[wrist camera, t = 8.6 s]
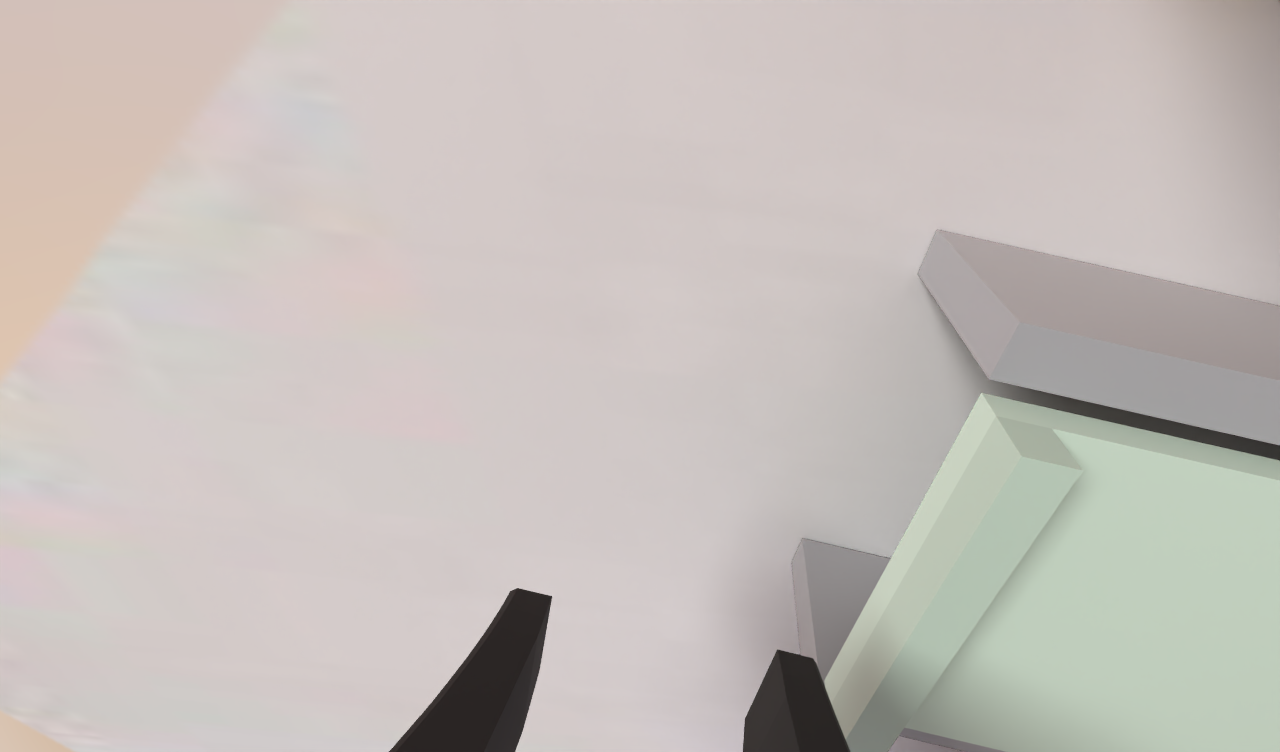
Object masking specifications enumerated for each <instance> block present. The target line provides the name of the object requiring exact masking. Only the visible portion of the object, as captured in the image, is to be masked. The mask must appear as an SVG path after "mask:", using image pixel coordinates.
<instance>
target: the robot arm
mask: <svg viewBox="0 0 1280 752" xmlns="http://www.w3.org/2000/svg"><path fill="white" fill-rule="evenodd" d="M551 599H552V596H548V595H544V594H540V593H535V592H531V591H527V590H523V589H519V588H517V589H515V590H512V591H510V593H509V595H508V596H507V598H506V600H505V602H504V604H503V605H502V607H501V609H500V610H499V612H498V613H497V615H496V617H495V618H494V620H493V621H492V623H491V624H490V626H489V627H488V629H487V630H486V632H485V633H484V635H483V636H482V638H481V639H480V640H479V642H478V643H477V644H476V646H475V647H474V649H473V650H472V651H471V653H470V654H469V656H468V657H467V658H466V660H465V661H464V662H463V664H462V665H461V666H460V667H459V669H458V670H457V671H456V672H455V674H454V675H453V676H452V678H451V679H450V680H449V681H448V683H447V684H446V685H445V687H444V688H443V689H442V690H441V692H440V693H439V694H438V695H437V697H436V698H435V699H434V700H433V702H432V703H431V704H430V705H429V706H428V708H427V709H426V710H425V711H424V712H423V713H422V715H421V716H420V717H419V718H418V719H417V720H416V721H415V723H414V724H413V725H412V726H411V727H410V728H409V730H408V731H407V732H406V733H405V734H404V735H403V736H402V738H401V739H400V740H399V741H398V742H397V743H396V745H395V746H394V747H393V748H392V749H391V750H390V751H389V752H515V750H516V747H517V745H518V742H519V739H520V737H521V734H522V731H523V728H524V724H525V720H526V717H527V713H528V710H529V706H530V703H531V699H532V695H533V692H534V688H535V684H536V681H537V677H538V674H539V670H540V664H541V658H542V652H543V646H544V640H545V635H546V629H547V623H548V617H549V611H550V605H551ZM743 752H850V749H849V747H848V744H847V742H846V739H845V737H844V734H843V732H842V729H841V727H840V725H839V722H838V719H837V717H836V714H835V712H834V709H833V707H832V704H831V701H830V699H829V696H828V693H827V691H826V688H825V685H824V683H823V680H822V677H821V674H820V672H819V669H818V666H817V664H816V662H815V661H814V659H813V658H810V657H806V656H802V655H798V654H793V653H789V652H785V651H781V650H777V652H776V654H775V656H774V658H773V660H772V662H771V664H770V667H769V669H768V671H767V673H766V675H765V677H764V679H763V682H762V684H761V686H760V688H759V690H758V692H757V695H756V697H755V699H754V701H753V703H752V705H751V707H750V710H749V712H748V714H747V716H746V718H745V727H744V743H743Z"/></svg>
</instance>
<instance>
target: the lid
mask: <svg viewBox="0 0 1280 752" xmlns="http://www.w3.org/2000/svg"><path fill="white" fill-rule="evenodd" d="M824 682H825V688H826V691H827V693H828V696H829V699H830V701H831V704H832V707H833V709H834V712H835V714H836V717H837V719H838V722H839V725H840V727H841V729H842V732H843V734H844V737H845V739H846V742H847V744H848V747H849V749H850V752H888V751H889V749H890V748H891V746H892V745H893V743H894V742H895V740H896V739H897V738H898V736H899V735H900V733H901V732H902V730H903V729H904V728H908V729H913V730H917V731H921V732H925V733H929V734H934V735H938V736H942V737H946V738H950V739H955V740H959V741H963V742H967V743H971V744H976V745H980V746H984V747H988V748H992V749H997V750H1001V751H1005V752H1280V461H1279V460H1275V459H1271V458H1266V457H1262V456H1258V455H1253V454H1249V453H1244V452H1240V451H1236V450H1231V449H1227V448H1222V447H1218V446H1214V445H1209V444H1205V443H1200V442H1196V441H1192V440H1187V439H1183V438H1178V437H1174V436H1170V435H1165V434H1161V433H1156V432H1152V431H1148V430H1143V429H1139V428H1134V427H1130V426H1126V425H1121V424H1117V423H1112V422H1108V421H1104V420H1099V419H1095V418H1090V417H1086V416H1082V415H1077V414H1073V413H1069V412H1064V411H1060V410H1055V409H1051V408H1047V407H1042V406H1038V405H1033V404H1029V403H1025V402H1020V401H1016V400H1011V399H1007V398H1003V397H998V396H994V395H989V394H985V393H981V394H980V396H979V398H978V400H977V402H976V403H975V405H974V407H973V409H972V411H971V413H970V414H969V416H968V418H967V420H966V422H965V424H964V425H963V427H962V429H961V431H960V433H959V435H958V436H957V438H956V440H955V442H954V444H953V446H952V447H951V449H950V451H949V453H948V455H947V457H946V458H945V460H944V462H943V464H942V466H941V468H940V469H939V471H938V473H937V475H936V477H935V479H934V480H933V482H932V484H931V486H930V488H929V490H928V491H927V493H926V495H925V497H924V499H923V501H922V502H921V504H920V506H919V508H918V510H917V512H916V513H915V515H914V517H913V519H912V521H911V523H910V524H909V526H908V528H907V530H906V532H905V533H904V535H903V537H902V539H901V541H900V543H899V544H898V546H897V548H896V550H895V552H894V554H893V555H892V557H891V559H890V561H889V563H888V565H887V566H886V568H885V570H884V572H883V574H882V576H881V577H880V579H879V581H878V583H877V585H876V587H875V588H874V590H873V592H872V594H871V596H870V598H869V599H868V601H867V603H866V605H865V607H864V609H863V610H862V612H861V614H860V616H859V618H858V620H857V621H856V623H855V625H854V627H853V629H852V631H851V632H850V634H849V636H848V638H847V640H846V642H845V643H844V645H843V647H842V649H841V651H840V653H839V654H838V656H837V658H836V660H835V662H834V664H833V665H832V667H831V669H830V671H829V673H828V675H827V676H826V678H825V680H824Z"/></svg>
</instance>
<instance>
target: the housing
mask: <svg viewBox="0 0 1280 752" xmlns="http://www.w3.org/2000/svg"><path fill="white" fill-rule="evenodd" d="M918 275H919V277H920V278H921V280H922V281H923V283H924V284H925V286H926V287H927V289H928V290H929V291H930V293H931V294H932V296H933V297H934V299H935V300H936V302H937V303H938V305H939V306H940V308H941V309H942V311H943V312H944V314H945V315H946V317H947V318H948V320H949V321H950V323H951V324H952V326H953V327H954V329H955V330H956V332H957V333H958V335H959V336H960V337H961V339H962V340H963V342H964V343H965V345H966V346H967V348H968V349H969V351H970V352H971V354H972V355H973V357H974V358H975V360H976V361H977V363H978V364H979V366H980V367H981V369H982V370H983V372H984V373H985V375H986V376H987V378H988V379H990V380H994V381H998V382H1003V383H1007V384H1012V385H1016V386H1020V387H1025V388H1029V389H1034V390H1038V391H1042V392H1047V393H1051V394H1056V395H1060V396H1064V397H1069V398H1073V399H1078V400H1082V401H1086V402H1091V403H1095V404H1100V405H1104V406H1108V407H1113V408H1117V409H1122V410H1126V411H1130V412H1135V413H1139V414H1144V415H1148V416H1153V417H1157V418H1161V419H1166V420H1170V421H1175V422H1179V423H1183V424H1188V425H1192V426H1197V427H1201V428H1205V429H1210V430H1214V431H1219V432H1223V433H1227V434H1232V435H1236V436H1241V437H1245V438H1249V439H1254V440H1258V441H1263V442H1267V443H1271V444H1276V445H1280V306H1278V305H1274V304H1269V303H1265V302H1260V301H1256V300H1251V299H1247V298H1242V297H1238V296H1233V295H1229V294H1224V293H1220V292H1215V291H1211V290H1206V289H1202V288H1197V287H1193V286H1188V285H1184V284H1179V283H1175V282H1170V281H1166V280H1161V279H1157V278H1152V277H1148V276H1144V275H1139V274H1135V273H1130V272H1126V271H1121V270H1117V269H1112V268H1108V267H1103V266H1099V265H1094V264H1090V263H1085V262H1081V261H1076V260H1072V259H1067V258H1063V257H1058V256H1054V255H1049V254H1045V253H1040V252H1036V251H1031V250H1027V249H1022V248H1018V247H1013V246H1009V245H1004V244H1000V243H996V242H991V241H987V240H982V239H978V238H973V237H969V236H964V235H960V234H955V233H951V232H946V231H942V230H936V233H935V235H934V237H933V239H932V242H931V244H930V246H929V249H928V251H927V253H926V255H925V258H924V260H923V262H922V265H921V267H920V269H919V272H918ZM889 561H890V559H889V558H885V557H881V556H877V555H872V554H868V553H864V552H859V551H855V550H851V549H846V548H842V547H838V546H834V545H829V544H825V543H821V542H816V541H812V540H808V539H804V538H802V540H801V542H800V545H799V547H798V549H797V551H796V554H795V556H794V558H793V561H792V563H791V564H792V574H793V584H794V595H795V605H796V615H797V626H798V636H799V646H800V655H802V656H806V657H810V658H813V659H814V661H815V662H816V664H817V666H818V669H819V672H820V674H821V677H822V680H823V683H824V685H825V682H824V680H825V678H826V676H827V675H828V673H829V671H830V669H831V667H832V665H833V664H834V662H835V660H836V658H837V656H838V654H839V653H840V651H841V649H842V647H843V645H844V643H845V642H846V640H847V638H848V636H849V634H850V632H851V631H852V629H853V627H854V625H855V623H856V621H857V620H858V618H859V616H860V614H861V612H862V610H863V609H864V607H865V605H866V603H867V601H868V599H869V598H870V596H871V594H872V592H873V590H874V588H875V587H876V585H877V583H878V581H879V579H880V577H881V576H882V574H883V572H884V570H885V568H886V566H887V565H888V563H889ZM899 736H902V737H906V738H910V739H914V740H918V741H923V742H927V743H931V744H935V745H939V746H944V747H948V748H952V749H956V750H960V751H965V752H1005V751H1001V750H997V749H992V748H988V747H984V746H980V745H976V744H971V743H967V742H963V741H959V740H955V739H950V738H946V737H942V736H938V735H934V734H929V733H925V732H921V731H917V730H913V729H908V728H904V729H903V730H902V732H901V733H900V735H899Z"/></svg>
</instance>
